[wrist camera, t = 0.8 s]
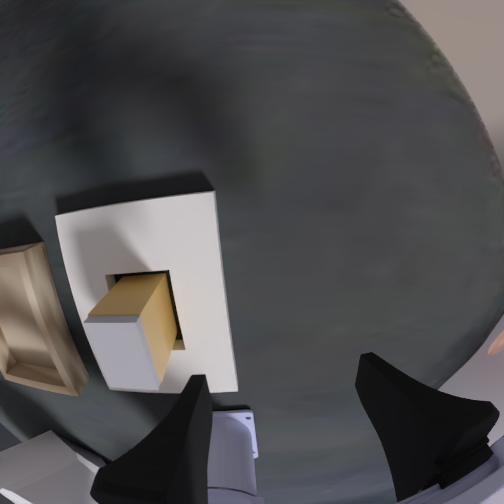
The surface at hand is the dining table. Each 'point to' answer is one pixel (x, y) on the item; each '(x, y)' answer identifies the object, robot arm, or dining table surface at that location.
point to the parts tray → (35, 325)
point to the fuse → (133, 332)
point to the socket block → (156, 259)
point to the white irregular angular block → (48, 471)
